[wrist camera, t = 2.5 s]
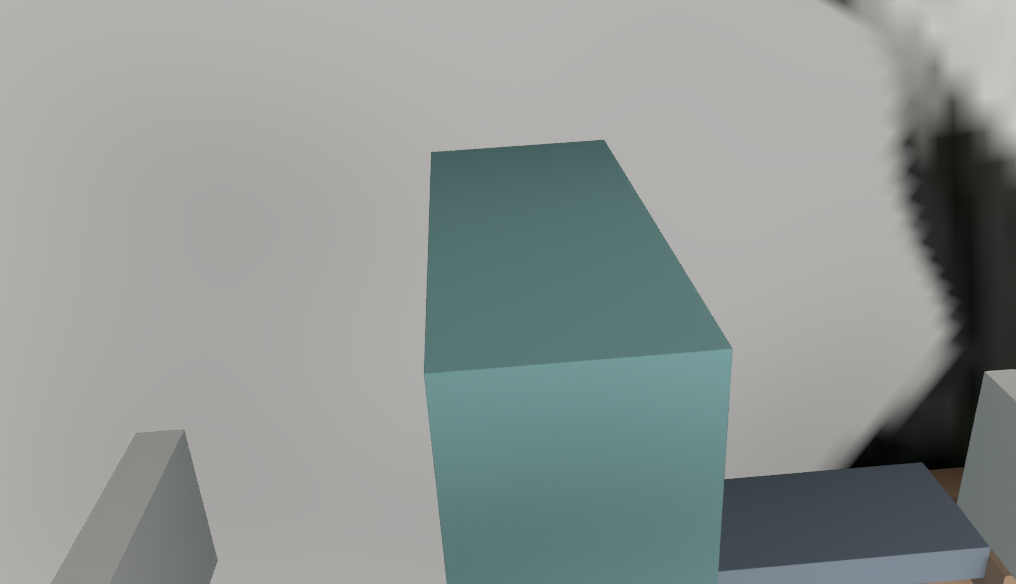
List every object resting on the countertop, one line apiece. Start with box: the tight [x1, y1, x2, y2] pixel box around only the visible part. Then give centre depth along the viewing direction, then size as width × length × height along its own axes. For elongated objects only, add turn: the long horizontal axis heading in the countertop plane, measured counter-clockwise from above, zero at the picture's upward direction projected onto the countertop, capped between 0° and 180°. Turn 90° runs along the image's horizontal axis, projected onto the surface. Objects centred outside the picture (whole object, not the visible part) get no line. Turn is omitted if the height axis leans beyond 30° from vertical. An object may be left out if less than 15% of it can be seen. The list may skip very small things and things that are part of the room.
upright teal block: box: [424, 140, 732, 584], centre depth 17 cm, size 4×7×10 cm, turn 3°
